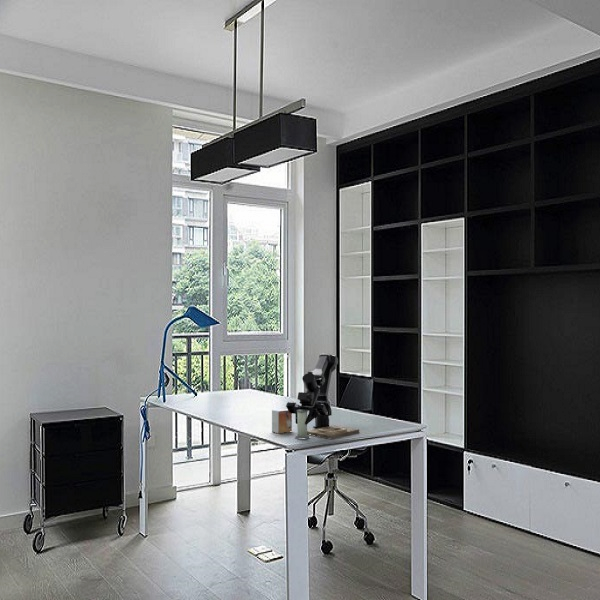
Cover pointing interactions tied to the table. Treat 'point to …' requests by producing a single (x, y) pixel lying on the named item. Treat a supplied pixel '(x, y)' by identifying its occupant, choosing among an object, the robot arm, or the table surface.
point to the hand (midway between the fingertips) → (300, 423)
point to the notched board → (333, 431)
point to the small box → (281, 421)
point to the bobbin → (302, 424)
